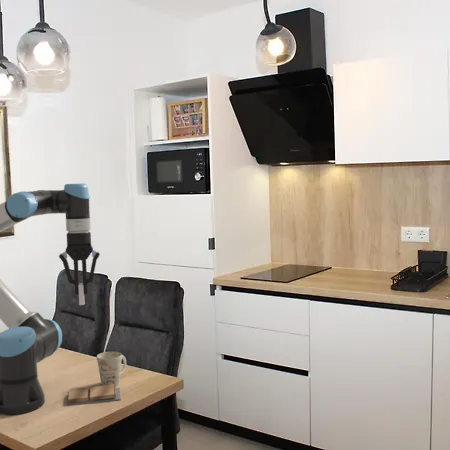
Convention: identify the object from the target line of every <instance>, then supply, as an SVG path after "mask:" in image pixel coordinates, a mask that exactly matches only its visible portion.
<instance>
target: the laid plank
mask: <svg viewBox="0 0 450 450" xmlns="http://www.w3.org/2000/svg"><path fill="white" fill-rule="evenodd" d="M90 390H91V389H89V387H79V388H69V392H68V398H67V399H68V400H67V404H68V403H78V402H88V401H89V397H90Z"/></svg>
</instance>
